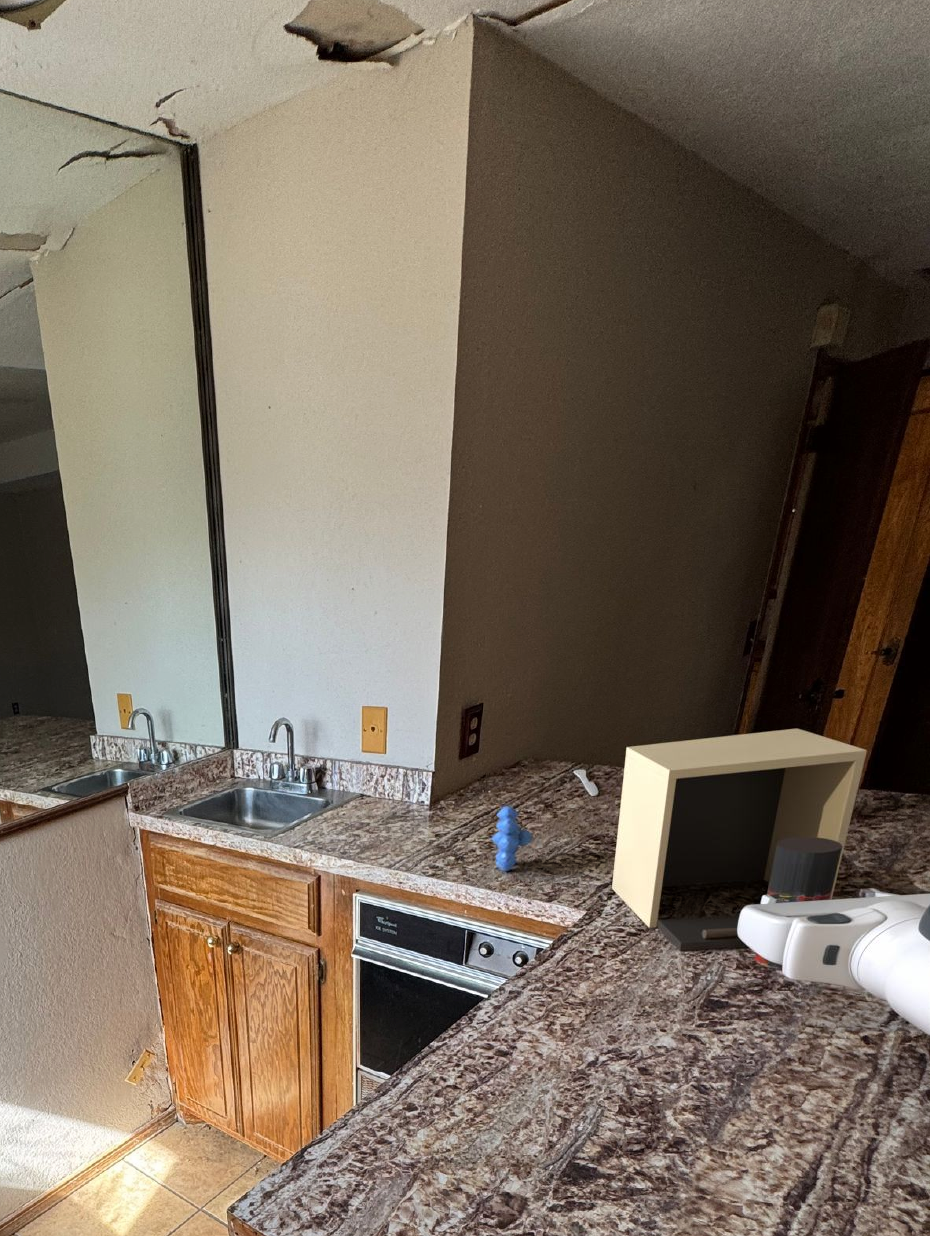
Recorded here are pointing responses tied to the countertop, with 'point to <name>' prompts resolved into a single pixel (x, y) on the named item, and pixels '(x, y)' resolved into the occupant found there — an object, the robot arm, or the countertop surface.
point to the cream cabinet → (725, 817)
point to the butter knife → (587, 782)
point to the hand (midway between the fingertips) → (814, 897)
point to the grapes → (509, 838)
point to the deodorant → (802, 873)
